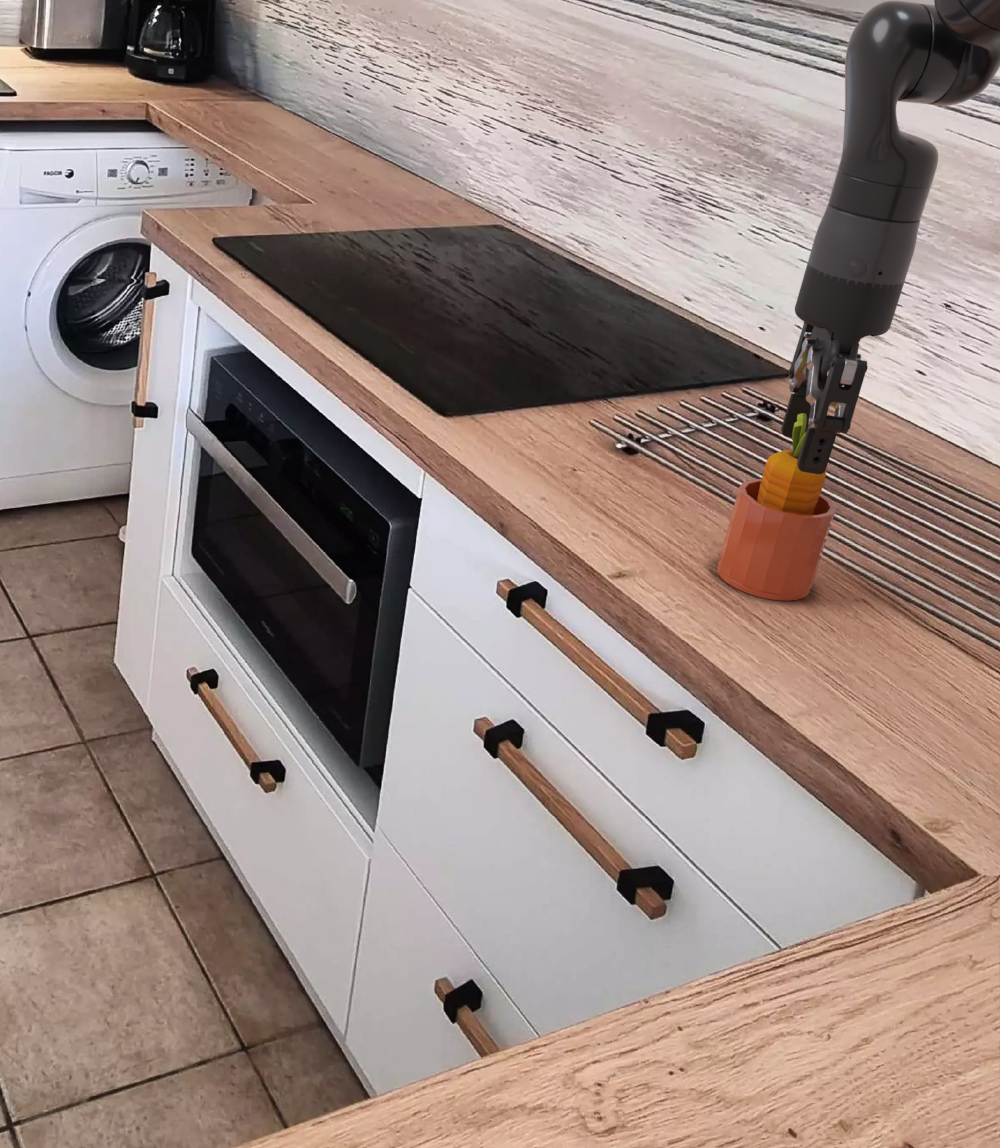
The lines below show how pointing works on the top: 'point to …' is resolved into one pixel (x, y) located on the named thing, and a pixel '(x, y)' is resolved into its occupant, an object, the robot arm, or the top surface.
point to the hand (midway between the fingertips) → (801, 453)
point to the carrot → (790, 478)
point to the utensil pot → (773, 546)
